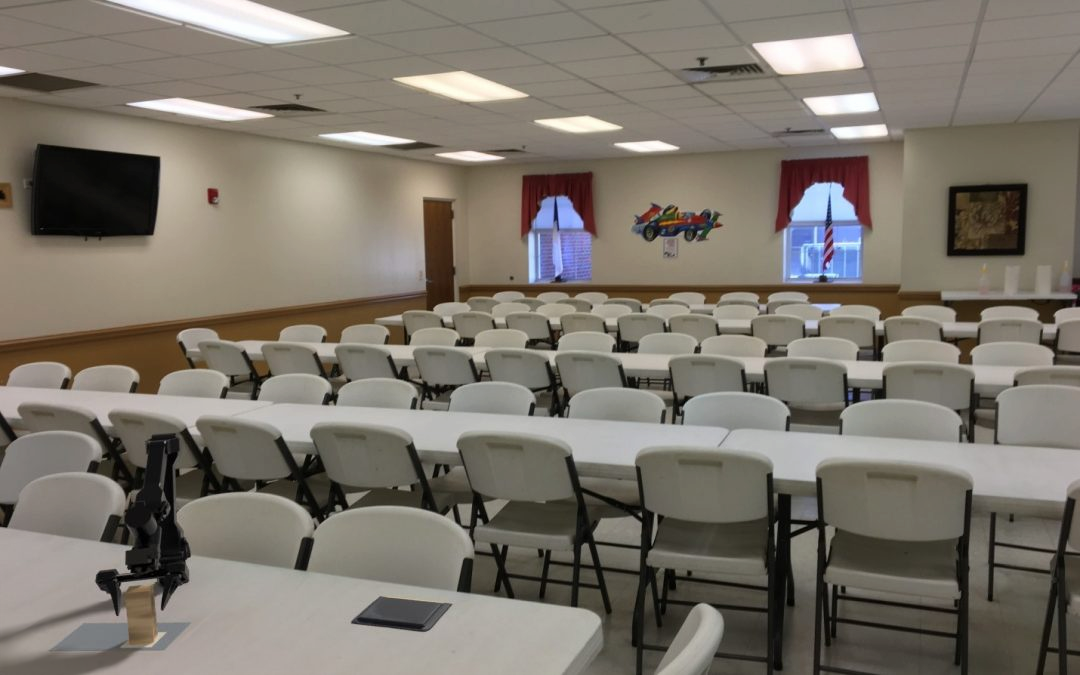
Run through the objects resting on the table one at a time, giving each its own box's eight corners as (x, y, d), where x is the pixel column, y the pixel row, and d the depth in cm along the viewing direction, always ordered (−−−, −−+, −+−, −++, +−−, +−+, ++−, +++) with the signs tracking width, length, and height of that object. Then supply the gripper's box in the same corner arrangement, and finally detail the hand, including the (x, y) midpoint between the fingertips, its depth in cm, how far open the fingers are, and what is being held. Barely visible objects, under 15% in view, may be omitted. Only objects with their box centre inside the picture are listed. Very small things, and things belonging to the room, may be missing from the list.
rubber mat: (49, 652, 184) (48, 650, 183) (83, 625, 196) (83, 622, 196) (164, 652, 182) (164, 649, 182) (191, 624, 195) (191, 621, 195)
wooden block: (134, 637, 188) (129, 586, 187) (157, 634, 190) (153, 583, 188) (129, 645, 185) (124, 593, 183) (154, 642, 186) (149, 590, 184)
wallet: (348, 617, 193) (380, 590, 208) (348, 625, 194) (380, 597, 208) (426, 628, 187) (454, 599, 201) (426, 636, 187) (454, 606, 202)
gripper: (93, 536, 186) (83, 604, 177) (182, 527, 190) (177, 593, 181) (106, 557, 194) (97, 623, 185) (191, 548, 199) (187, 612, 189)
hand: (139, 612), depth 185 cm, fingers open, 9 cm apart
